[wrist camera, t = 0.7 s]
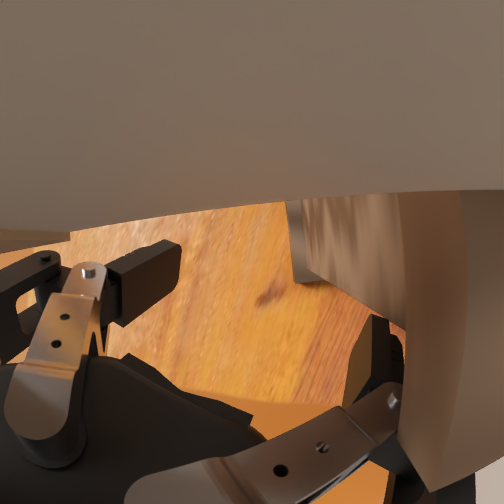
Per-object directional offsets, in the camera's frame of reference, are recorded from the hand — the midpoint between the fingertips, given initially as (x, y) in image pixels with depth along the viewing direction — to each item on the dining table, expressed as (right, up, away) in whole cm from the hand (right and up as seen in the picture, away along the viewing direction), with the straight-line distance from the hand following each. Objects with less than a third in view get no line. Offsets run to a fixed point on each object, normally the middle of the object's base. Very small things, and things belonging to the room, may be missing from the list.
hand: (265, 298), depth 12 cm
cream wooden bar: (+5, +5, -9) cm, 11 cm away
